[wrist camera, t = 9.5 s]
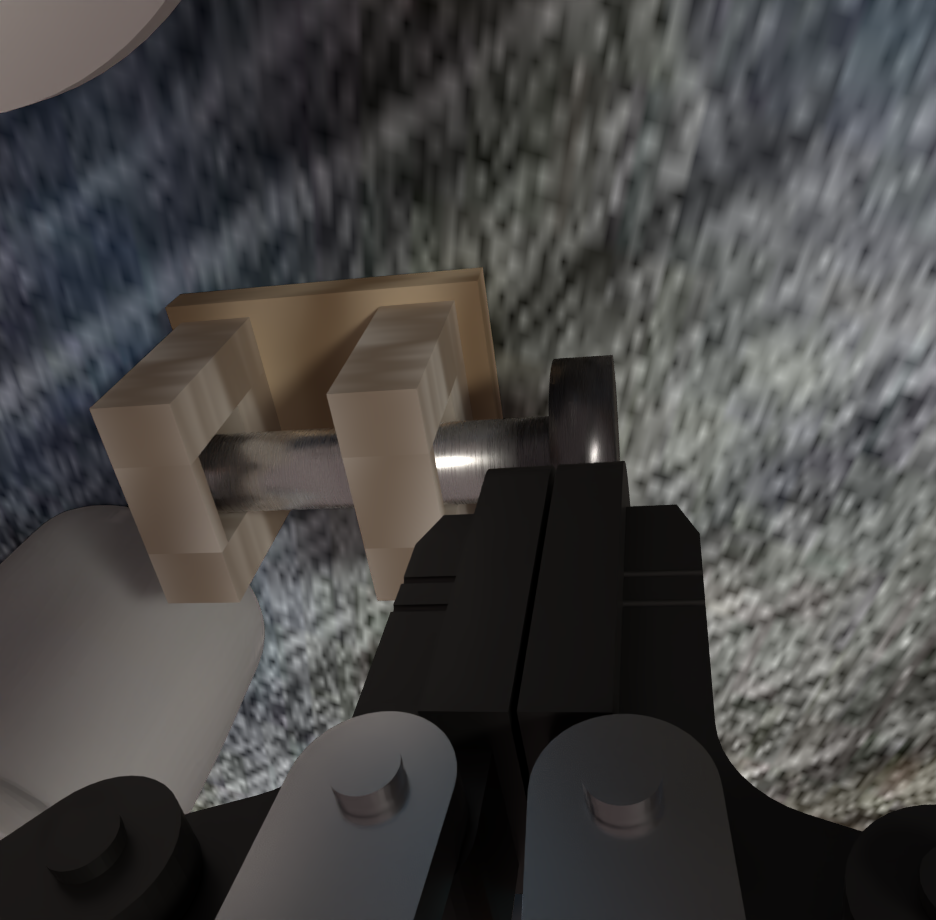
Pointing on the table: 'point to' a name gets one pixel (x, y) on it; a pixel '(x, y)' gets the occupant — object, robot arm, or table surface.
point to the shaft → (455, 448)
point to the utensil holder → (110, 667)
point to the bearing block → (300, 414)
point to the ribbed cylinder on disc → (68, 43)
